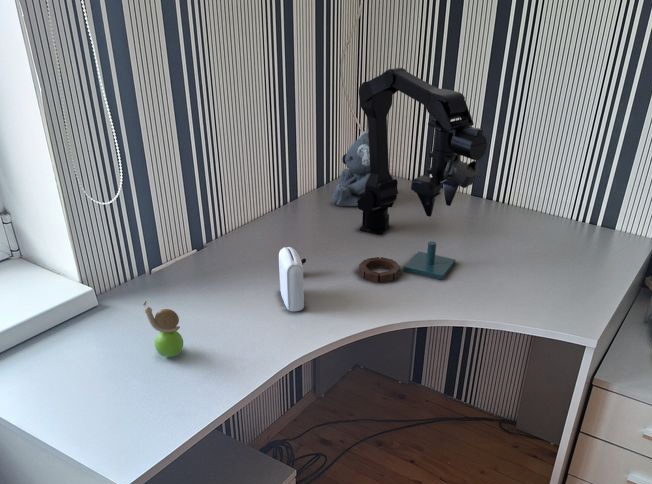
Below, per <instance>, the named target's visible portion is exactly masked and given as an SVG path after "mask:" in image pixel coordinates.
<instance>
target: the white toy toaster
mask: <svg viewBox="0 0 652 484" xmlns="http://www.w3.org/2000/svg"><path fill="white" fill-rule="evenodd" d="M301 260H302V259H301V256H300V255H299V253H298V252H297V251H296V249H295V248H293V247H292V246H287V247H286V246H284V247H282V248H281V249H280V250H279V253H278V268H279V269H278V271H279V288H280V289H279V290H280V294H281V295H280V296H281V298H282V301H283V303H284V305H285V307H286V309H287V311H290V312H300V311H302V310H303V309H305V290H304V289H305V288H304V286H305V285H304V284H305V283H304V266H303V265H304V264H303V265H302V262H301Z"/></svg>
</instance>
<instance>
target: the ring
mask: <svg viewBox="0 0 652 484" xmlns="http://www.w3.org/2000/svg"><path fill="white" fill-rule="evenodd" d="M373 268H384V269H386V270H387V269H388V270H387V271H381V272H379V271H374V270H370V269H373ZM358 273H359V275H360V277H361V278H362V279H363V280H365V281H369V282H371V283H377V284H378V283H379V284H380V283H381V284H383V283H389V282H393V281H395V280H396V279H397V278H398V277H400V275H401V266H400V264H399V263H398V262H397V261H396V260H394V259H391V258H388V257H382V256H380V257H379V256H376V257H367V258H366V259H363V260H362V261H361V262H360V263H359V264H358Z"/></svg>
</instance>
